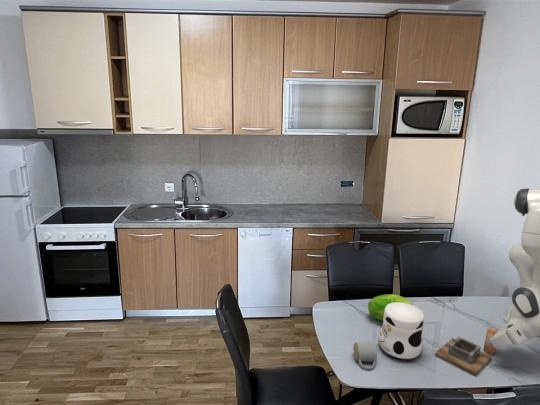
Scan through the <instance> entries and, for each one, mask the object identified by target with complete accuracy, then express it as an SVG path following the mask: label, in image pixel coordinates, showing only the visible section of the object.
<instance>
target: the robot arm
mask: <svg viewBox="0 0 540 405" xmlns="http://www.w3.org/2000/svg"><path fill="white" fill-rule="evenodd" d="M513 205H514V209H515V210H516V211H517V213H520V214H521V216H522V217H525V216H526V217H525V220H524V223H523V227H522V233H521V243H517V244H515V245H513V246H512V247H511V248H510V250H509V252H508V259H509V261H510V263H511V264H512V265H513V266H514V268H515V269H516V272H517V274H518V278H519V287H518V288H515V290H514V291H513V292H512V294H511V301H512V305H510V307H509V311H508V314H507V315H506V316H504V317H503V321H504V322H506V323H505V324H504V325H503V326H502V327H501V328H500V329H498V330H499V331H498V332H497V333H496V334H495V335H494V336H493V337H492V338H491V337H490V338H488V339H486V338H485V339H486V341H487V343H488V344H490V343H491V344H492V345H493V347H494V348H496V349H501V348H504V347H509V346H512V345H515V346H518V345H521V344H522V343H524V342H525V341H529V340H532V339H535V338H538V337H540V188H531V189H530V188H521V189H518V191H517V193H516V194H515V196H514V198H513Z"/></svg>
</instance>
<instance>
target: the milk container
mask: <svg viewBox="0 0 540 405" xmlns="http://www.w3.org/2000/svg"><path fill="white" fill-rule="evenodd" d="M424 321H425V315H424V312H423V311H422V310H421V309H420V308H419V307H417V306H416V305H413V304H412V305H410V304H407V303H402V302H394V303H390V304H388V305H387V306H386V307H385V310H384V317H383V321H382V326H381V328H380V330H379V334H378V339H379V340H378V341H379V346H380V348H381V349H382V350H383V351H384V352H385V353H386V354H387V355H389V356H391V357H393V358H397V359H400V360H411V359H415V358H417V357H418V356H419V355H420V354H421V352H422V350H423V347H424V346H423V345H424V341H423V330H424V323H425V322H424Z"/></svg>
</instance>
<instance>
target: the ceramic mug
mask: <svg viewBox="0 0 540 405" xmlns="http://www.w3.org/2000/svg"><path fill="white" fill-rule="evenodd" d="M353 355H354V360H355V361H357V362H358V363H359V365H360V367H361V368H362V369H364V370H368V371H369V370H372V369H374V367H375V362H377V360H378V349H377V345H376V342H375V341H374V340H368V341H367V340H365V341H356V342H354V343H353ZM362 362H368V363H369V362H372V363H373V364H372V365H371V366H369V367H367V366H365V365H364V364H363V363H362Z"/></svg>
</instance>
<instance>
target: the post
mask: <svg viewBox="0 0 540 405" xmlns="http://www.w3.org/2000/svg"><path fill="white" fill-rule="evenodd" d="M499 330H500V329H497V328H496V327H495V328H494V327H488V328H487V329H486V335H485V340H484V344H483V351H482V352H484V353H486V354H488V355H490V356H495V355H496V353H497V348H494V347H493V345H492V344H491V343H490V344H488V343H487V341H486V339H488V338H490V337H491V338H492V337H493V336H494V335H495V334H496V333H497V332H498V331H499Z"/></svg>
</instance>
